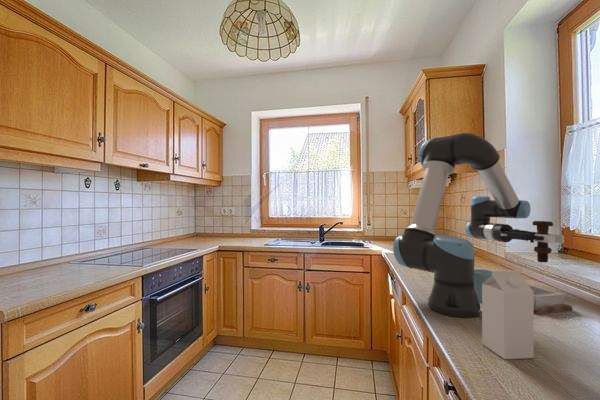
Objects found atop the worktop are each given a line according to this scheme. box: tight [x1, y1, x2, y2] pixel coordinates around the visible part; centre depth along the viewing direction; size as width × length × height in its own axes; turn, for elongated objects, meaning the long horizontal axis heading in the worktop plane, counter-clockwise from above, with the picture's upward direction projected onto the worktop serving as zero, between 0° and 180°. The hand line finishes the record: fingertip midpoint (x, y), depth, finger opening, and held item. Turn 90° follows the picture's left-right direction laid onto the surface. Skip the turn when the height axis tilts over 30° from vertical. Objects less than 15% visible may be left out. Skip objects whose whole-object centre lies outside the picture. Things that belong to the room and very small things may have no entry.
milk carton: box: [481, 269, 535, 360], centre depth 69 cm, size 7×7×19 cm
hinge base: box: [527, 283, 573, 315], centre depth 100 cm, size 15×14×5 cm
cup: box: [474, 268, 493, 304], centre depth 104 cm, size 8×8×10 cm
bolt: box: [532, 220, 554, 263], centre depth 109 cm, size 6×5×15 cm
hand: (558, 239), depth 103 cm, fingers closed on bolt, 3 cm apart
